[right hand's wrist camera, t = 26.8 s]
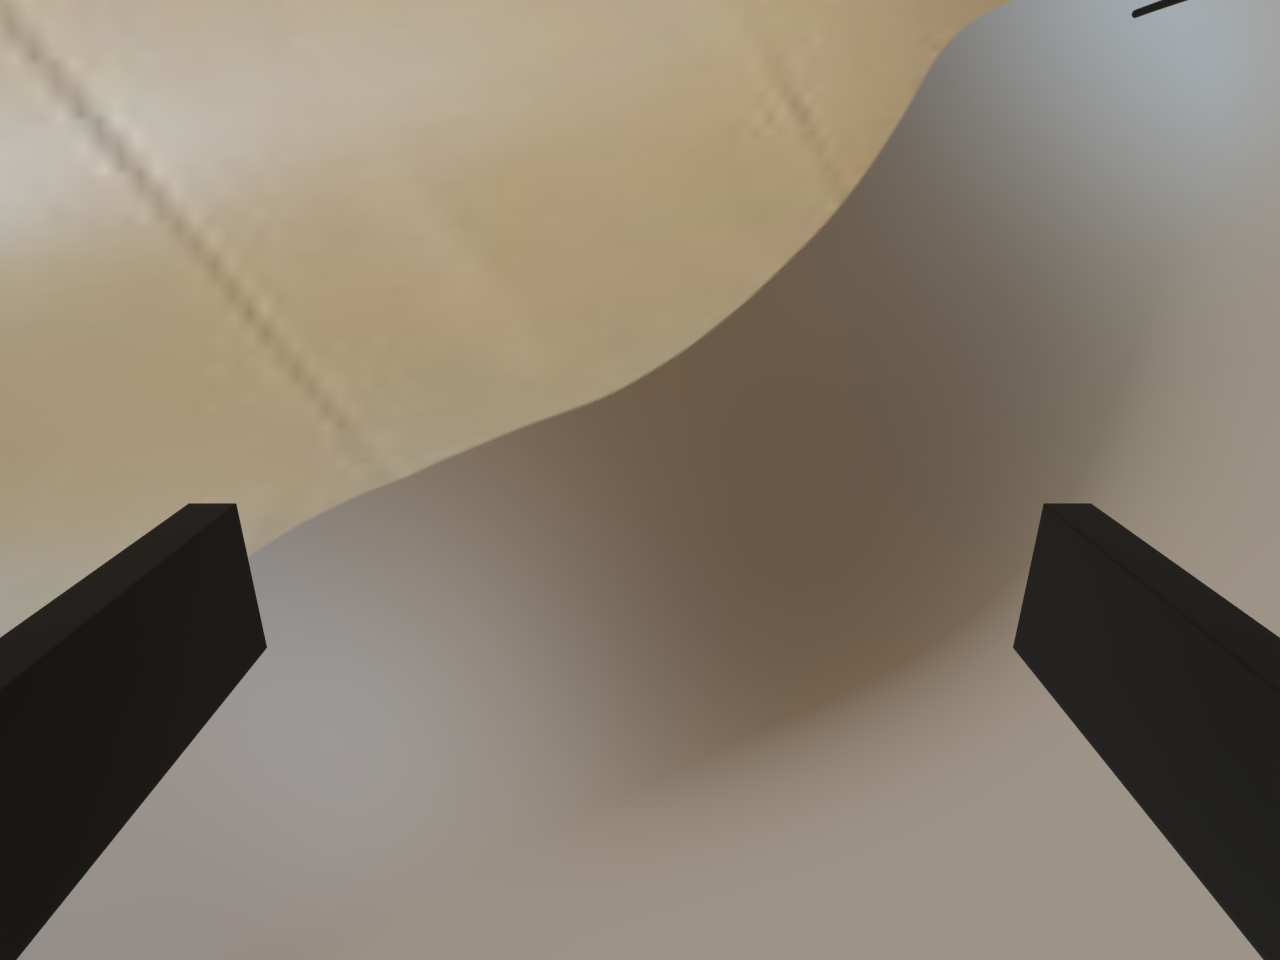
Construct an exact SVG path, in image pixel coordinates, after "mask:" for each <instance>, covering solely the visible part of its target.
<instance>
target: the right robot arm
mask: <svg viewBox="0 0 1280 960" xmlns="http://www.w3.org/2000/svg"><path fill="white" fill-rule="evenodd" d="M1184 1H1187V0H1160V1H1158V2H1155V3H1152V4H1149V5H1147V6H1144V7H1141V8H1138V9H1136V10H1134V11H1133V12H1132V17H1133V18H1137V17H1140V16H1143V15H1145V14H1148V13H1151V12H1154V11H1157V10H1160V9H1163V8H1166V7H1169V6H1172V5H1175V4H1178V3H1181V2H1184ZM266 648H267V646H266V641H265V637H264V632H263V627H262V622H261V618H260V613H259V608H258V604H257V599H256V594H255V590H254V585H253V580H252V576H251V571H250V566H249V561H248V557H247V552H246V547H245V543H244V538H243V533H242V529H241V524H240V519H239V515H238V510H237V505H236V504H188V505H186V506H185V507H183V508H182V509H181V510H179V511H178V512H176V513H175V514H174V515H172V516H171V517H169V518H168V519H167V520H165V521H164V522H162V523H161V524H160V525H158V526H157V527H155V528H154V529H153V530H151V531H150V532H148V533H147V534H146V535H144V536H143V537H141V538H140V539H138V540H137V541H136V542H134V543H133V544H131V545H130V546H129V547H127V548H126V549H124V550H123V551H122V552H120V553H119V554H117V555H116V556H115V557H113V558H112V559H110V560H109V561H108V562H106V563H105V564H103V565H102V566H101V567H99V568H98V569H96V570H95V571H94V572H92V573H91V574H89V575H88V576H86V577H85V578H84V579H82V580H81V581H79V582H78V583H77V584H75V585H74V586H72V587H71V588H70V589H68V590H67V591H65V592H64V593H63V594H61V595H60V596H58V597H57V598H56V599H54V600H53V601H51V602H50V603H49V604H47V605H46V606H44V607H43V608H41V609H40V610H39V611H37V612H36V613H34V614H33V615H32V616H30V617H29V618H27V619H26V620H25V621H23V622H22V623H20V624H19V625H18V626H16V627H15V628H13V629H12V630H11V631H9V632H8V633H6V634H5V635H4V636H2V637H1V638H0V960H16V959H17V958H18V957H19V956H20V954H21V953H22V952H23V951H24V950H25V948H26V947H27V946H28V945H29V943H30V942H31V941H32V940H33V938H34V937H35V936H36V935H37V933H38V932H39V931H40V930H41V928H42V927H43V926H44V925H45V923H46V922H47V921H48V920H49V918H50V917H51V916H52V915H53V913H54V912H55V911H56V910H57V908H58V907H59V906H60V905H61V903H62V902H63V901H64V900H65V898H66V897H67V896H68V895H69V893H70V892H71V891H72V890H73V889H74V887H75V886H76V885H77V884H78V882H79V881H80V880H81V878H82V877H83V876H84V875H85V874H86V872H87V871H88V870H89V869H90V867H91V866H92V865H93V864H94V862H95V861H96V860H97V859H98V857H99V856H100V855H101V854H102V852H103V851H104V850H105V849H106V847H107V846H108V845H109V844H110V842H111V841H112V840H113V839H114V837H115V836H116V835H117V834H118V832H119V831H120V830H121V829H122V827H123V826H124V825H125V824H126V822H127V821H128V820H129V819H130V817H131V816H132V815H133V814H134V813H135V811H136V810H137V809H138V808H139V806H140V805H141V804H142V803H143V801H144V800H145V799H146V797H147V796H148V795H149V794H150V793H151V791H152V790H153V789H154V788H155V786H156V785H157V784H158V783H159V781H160V780H161V779H162V778H163V776H164V775H165V774H166V773H167V771H168V770H169V769H170V768H171V766H172V765H173V764H174V763H175V761H176V760H177V759H178V758H179V756H180V755H181V754H182V753H183V751H184V750H185V749H186V748H187V747H188V745H189V744H190V743H191V742H192V740H193V739H194V738H195V737H196V735H197V734H198V733H199V732H200V730H201V729H202V728H203V727H204V725H205V724H206V723H207V722H208V720H209V719H210V718H211V717H212V715H213V714H214V713H215V712H216V710H217V709H218V708H219V707H220V705H221V704H222V703H223V702H224V700H225V699H226V698H227V697H228V695H229V694H230V693H231V692H232V690H233V689H234V688H235V687H236V685H237V684H238V683H239V682H240V680H241V679H242V678H243V677H244V675H245V674H246V673H247V672H248V670H249V669H250V668H251V667H252V666H253V664H254V663H255V662H256V661H257V659H258V658H259V657H260V656H261V654H262V653H263V652H264V651H265V649H266ZM1013 648H1014V649H1015V651H1016V652H1017V653H1018V654H1019V656H1020V657H1021V658H1022V659H1023V661H1024V662H1025V663H1026V664H1027V665H1028V667H1029V668H1030V669H1031V670H1032V672H1033V673H1034V674H1035V675H1036V677H1037V678H1038V679H1039V680H1040V682H1041V683H1042V684H1043V685H1044V687H1045V688H1046V689H1047V690H1048V692H1049V693H1050V694H1051V695H1052V697H1053V698H1054V699H1055V700H1056V702H1057V703H1058V704H1059V705H1060V707H1061V708H1062V709H1063V710H1064V712H1065V713H1066V714H1067V715H1068V717H1069V718H1070V719H1071V720H1072V722H1073V723H1074V724H1075V725H1076V727H1077V728H1078V729H1079V730H1080V731H1081V733H1082V734H1083V735H1084V737H1085V738H1086V739H1087V740H1088V741H1089V743H1090V744H1091V745H1092V746H1093V748H1094V749H1095V750H1096V751H1097V753H1098V754H1099V755H1100V756H1101V758H1102V759H1103V760H1104V761H1105V763H1106V764H1107V765H1108V766H1109V768H1110V769H1111V770H1112V771H1113V773H1114V774H1115V775H1116V776H1117V778H1118V779H1119V780H1120V781H1121V783H1122V784H1123V785H1124V786H1125V788H1126V789H1127V790H1128V791H1129V793H1130V794H1131V795H1132V796H1133V797H1134V799H1135V800H1136V801H1137V803H1138V804H1139V805H1140V806H1141V808H1142V809H1143V810H1144V811H1145V813H1146V814H1147V815H1148V816H1149V818H1150V819H1151V820H1152V821H1153V822H1154V824H1155V825H1156V826H1157V827H1158V829H1159V830H1160V831H1161V832H1162V834H1163V835H1164V836H1165V837H1166V839H1167V840H1168V841H1169V842H1170V844H1171V845H1172V846H1173V847H1174V849H1175V850H1176V851H1177V852H1178V854H1179V855H1180V856H1181V857H1182V859H1183V860H1184V861H1185V862H1186V863H1187V865H1188V866H1189V867H1190V869H1191V870H1192V871H1193V872H1194V873H1195V875H1196V876H1197V877H1198V879H1199V880H1200V881H1201V882H1202V883H1203V885H1204V886H1205V887H1206V889H1207V890H1208V891H1209V892H1210V893H1211V895H1212V896H1213V897H1214V898H1215V900H1216V901H1217V902H1218V903H1219V905H1220V906H1221V907H1222V908H1223V910H1224V911H1225V912H1226V913H1227V915H1228V916H1229V917H1230V918H1231V920H1232V921H1233V922H1234V923H1235V925H1236V926H1237V927H1238V928H1239V930H1240V931H1241V932H1242V933H1243V935H1244V936H1245V937H1246V938H1247V940H1248V941H1249V942H1250V943H1251V945H1252V946H1253V947H1254V948H1255V949H1256V951H1257V952H1258V953H1259V955H1260V956H1261V957H1262V958H1263V960H1280V638H1279V637H1278V636H1276V635H1275V634H1274V633H1272V632H1271V631H1269V630H1268V629H1267V628H1265V627H1264V626H1262V625H1261V624H1260V623H1258V622H1257V621H1255V620H1254V619H1253V618H1251V617H1250V616H1248V615H1247V614H1246V613H1244V612H1243V611H1241V610H1240V609H1238V608H1237V607H1236V606H1234V605H1233V604H1231V603H1230V602H1229V601H1227V600H1226V599H1224V598H1223V597H1222V596H1220V595H1219V594H1217V593H1216V592H1215V591H1213V590H1212V589H1210V588H1209V587H1208V586H1206V585H1205V584H1203V583H1202V582H1200V581H1199V580H1198V579H1196V578H1195V577H1194V576H1192V575H1191V574H1189V573H1188V572H1186V571H1185V570H1184V569H1182V568H1181V567H1179V566H1178V565H1177V564H1175V563H1174V562H1172V561H1171V560H1169V559H1168V558H1167V557H1165V556H1164V555H1163V554H1161V553H1160V552H1158V551H1157V550H1156V549H1154V548H1153V547H1151V546H1150V545H1149V544H1147V543H1146V542H1144V541H1143V540H1141V539H1140V538H1139V537H1137V536H1136V535H1134V534H1133V533H1132V532H1130V531H1129V530H1127V529H1126V528H1125V527H1123V526H1122V525H1120V524H1119V523H1118V522H1116V521H1115V520H1113V519H1112V518H1111V517H1109V516H1108V515H1106V514H1105V513H1104V512H1102V511H1101V510H1099V509H1098V508H1097V507H1095V506H1094V505H1092V504H1044V505H1043V510H1042V515H1041V519H1040V524H1039V529H1038V533H1037V538H1036V543H1035V547H1034V552H1033V557H1032V561H1031V566H1030V571H1029V576H1028V580H1027V585H1026V590H1025V594H1024V599H1023V604H1022V608H1021V613H1020V618H1019V623H1018V627H1017V632H1016V637H1015V641H1014V646H1013Z"/></svg>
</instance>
